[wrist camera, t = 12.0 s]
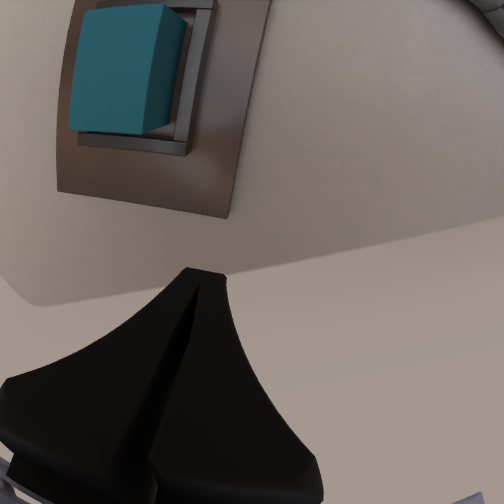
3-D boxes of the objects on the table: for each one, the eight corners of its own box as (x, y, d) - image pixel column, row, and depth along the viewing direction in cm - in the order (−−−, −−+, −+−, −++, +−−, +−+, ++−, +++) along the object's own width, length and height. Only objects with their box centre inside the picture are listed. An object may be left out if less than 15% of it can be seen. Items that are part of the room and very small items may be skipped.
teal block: (169, 124, 15) (141, 135, 11) (106, 119, 15) (68, 130, 11) (187, 22, 12) (164, 3, 8) (121, 23, 12) (84, 10, 8)
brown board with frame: (229, 213, 18) (224, 228, 17) (64, 187, 18) (47, 198, 16) (280, -35, 11) (281, -50, 9) (93, -31, 10) (76, -40, 8)
